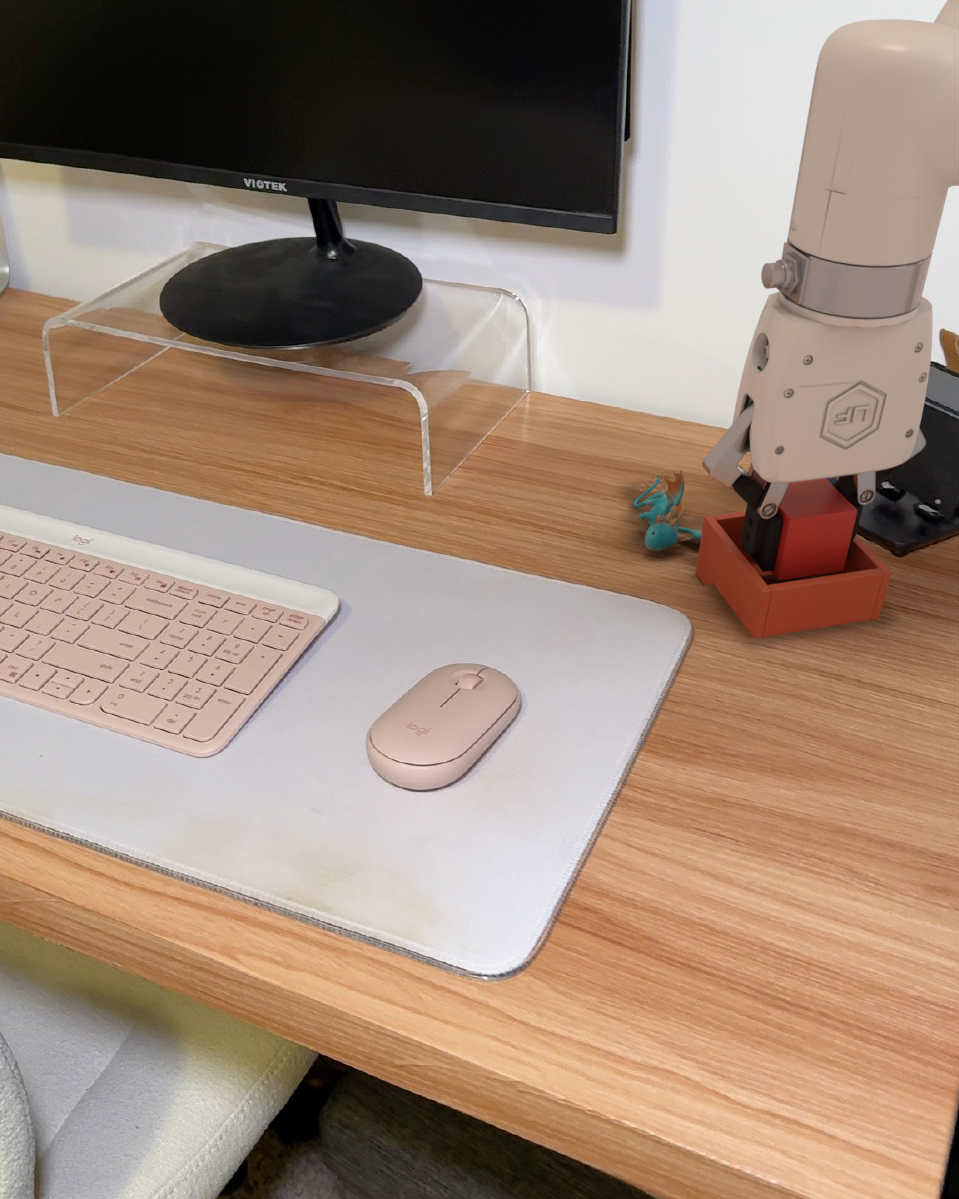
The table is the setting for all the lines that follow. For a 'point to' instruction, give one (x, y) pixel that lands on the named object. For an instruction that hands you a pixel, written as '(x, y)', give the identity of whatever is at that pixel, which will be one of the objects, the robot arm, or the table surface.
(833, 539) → the red block
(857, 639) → the table surface
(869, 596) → the red bin
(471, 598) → the table surface
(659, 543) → the dragon figurine
